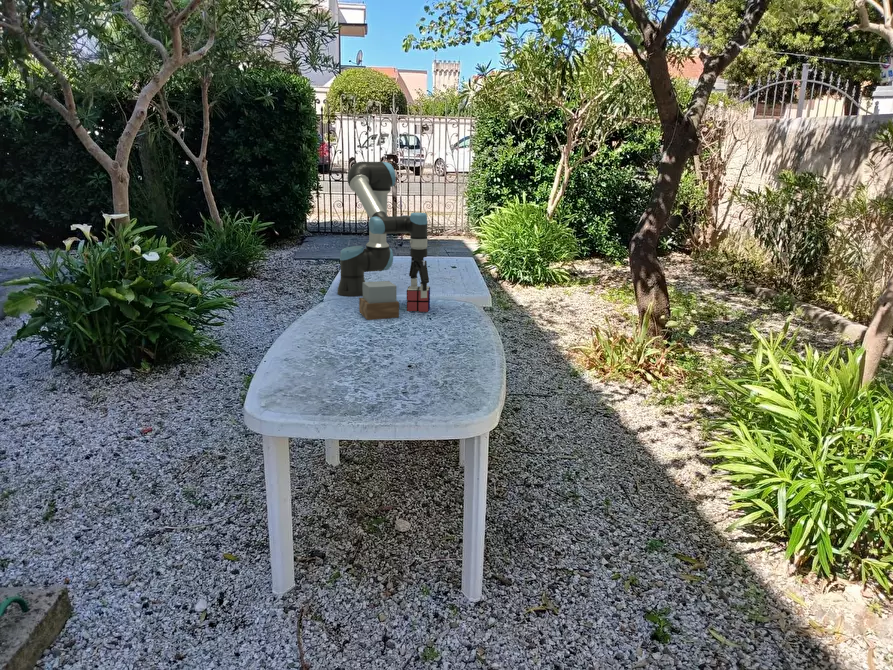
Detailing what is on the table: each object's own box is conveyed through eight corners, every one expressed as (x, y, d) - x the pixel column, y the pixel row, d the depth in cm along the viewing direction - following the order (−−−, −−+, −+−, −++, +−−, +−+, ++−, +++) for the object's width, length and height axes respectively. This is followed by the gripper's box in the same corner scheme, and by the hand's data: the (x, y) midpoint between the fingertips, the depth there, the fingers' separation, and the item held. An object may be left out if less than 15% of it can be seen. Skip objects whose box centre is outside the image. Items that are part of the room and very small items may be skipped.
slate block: (362, 297, 280) (362, 282, 278) (389, 296, 284) (389, 280, 282) (369, 303, 269) (368, 287, 267) (396, 301, 273) (396, 285, 271)
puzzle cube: (428, 312, 284) (429, 290, 282) (406, 312, 284) (406, 290, 282) (429, 307, 294) (430, 286, 291) (408, 307, 294) (408, 285, 291)
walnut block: (359, 313, 281) (359, 297, 280) (389, 311, 286) (389, 295, 285) (367, 320, 269) (367, 304, 267) (399, 318, 274) (399, 302, 272)
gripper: (402, 245, 292) (402, 290, 297) (420, 251, 269) (420, 300, 275) (417, 244, 294) (417, 289, 300) (436, 251, 272) (436, 299, 277)
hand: (418, 295), depth 287 cm, fingers open, 13 cm apart
